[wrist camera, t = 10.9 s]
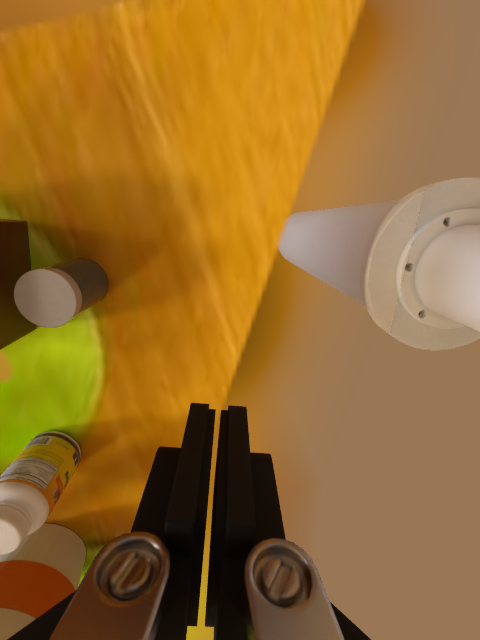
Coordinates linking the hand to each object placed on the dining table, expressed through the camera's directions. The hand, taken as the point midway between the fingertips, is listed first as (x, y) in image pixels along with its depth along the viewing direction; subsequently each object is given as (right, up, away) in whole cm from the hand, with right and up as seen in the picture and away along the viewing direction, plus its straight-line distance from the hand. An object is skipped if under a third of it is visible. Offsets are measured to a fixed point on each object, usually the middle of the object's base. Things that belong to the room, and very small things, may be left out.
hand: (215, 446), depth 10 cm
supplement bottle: (-19, -10, +26) cm, 34 cm away
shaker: (-14, +6, +17) cm, 23 cm away
